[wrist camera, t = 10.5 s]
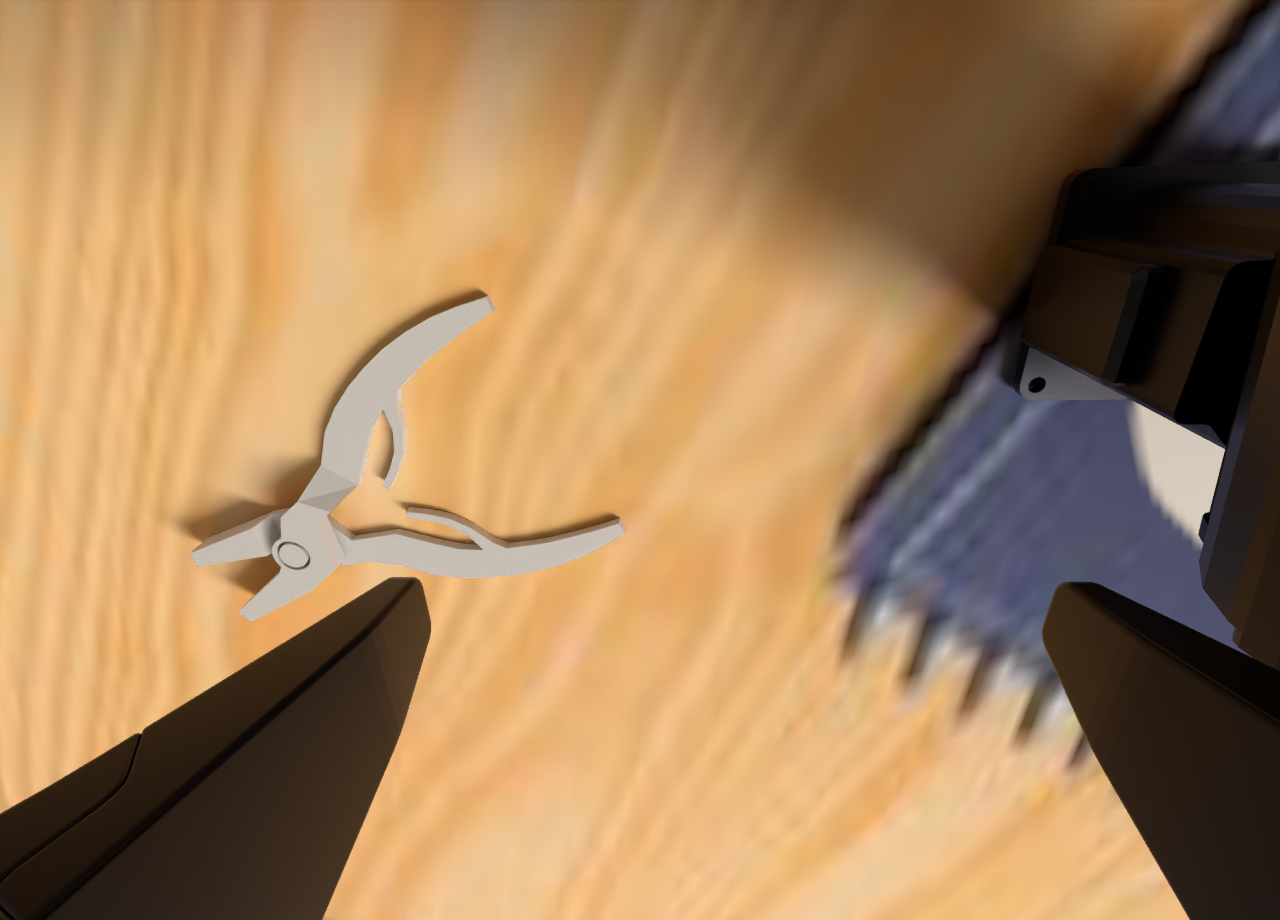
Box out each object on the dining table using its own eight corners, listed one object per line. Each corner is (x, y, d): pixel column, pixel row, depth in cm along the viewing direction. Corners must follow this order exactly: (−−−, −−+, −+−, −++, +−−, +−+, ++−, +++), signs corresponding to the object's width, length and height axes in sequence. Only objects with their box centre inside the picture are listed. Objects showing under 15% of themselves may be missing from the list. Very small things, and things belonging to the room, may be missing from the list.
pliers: (626, 552, 21) (301, 679, 25) (629, 528, 23) (321, 651, 26) (471, 295, 18) (117, 486, 21) (487, 286, 19) (153, 466, 23)
